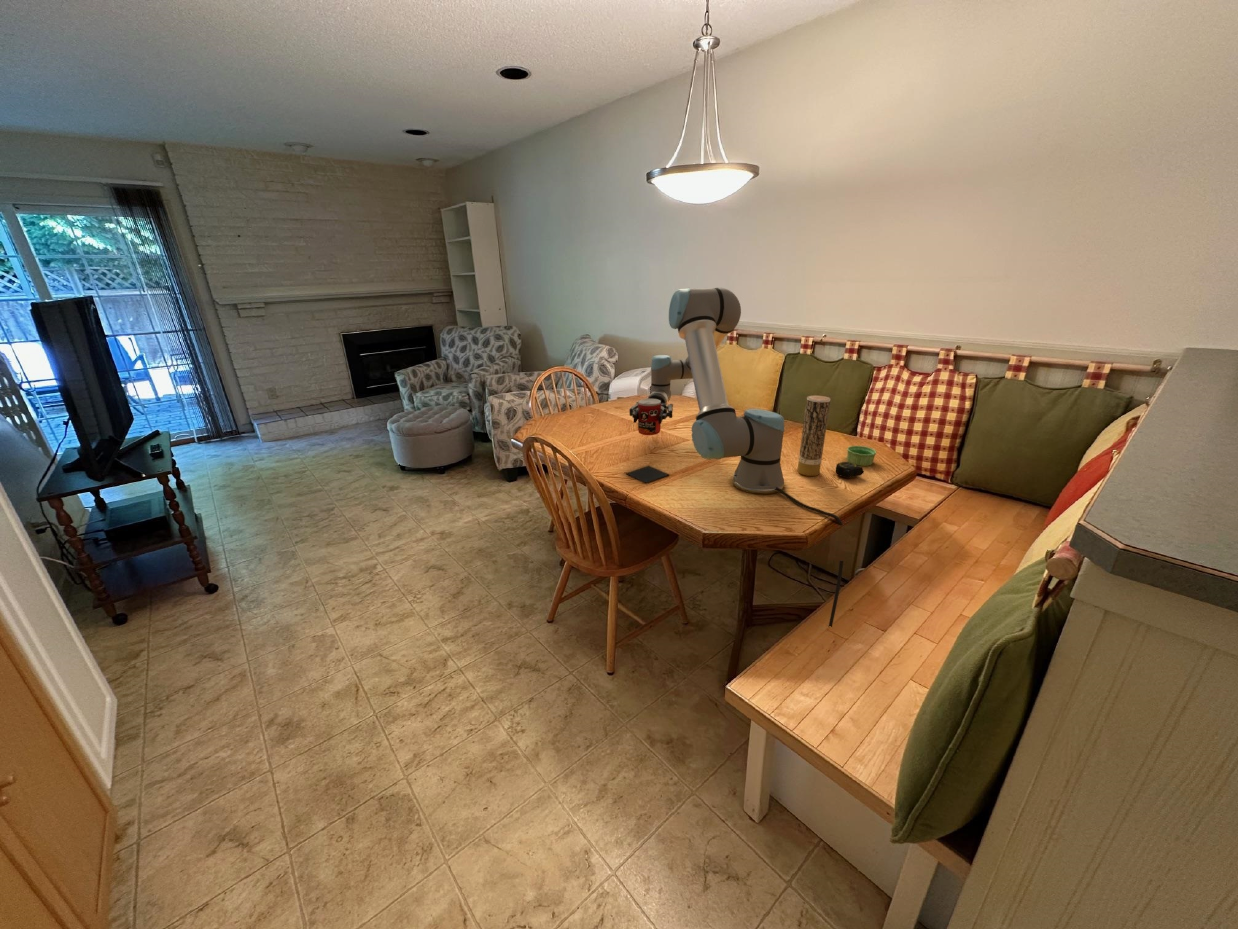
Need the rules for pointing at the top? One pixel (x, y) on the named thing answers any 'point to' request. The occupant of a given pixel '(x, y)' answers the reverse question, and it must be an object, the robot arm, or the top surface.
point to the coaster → (647, 474)
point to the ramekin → (860, 455)
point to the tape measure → (848, 470)
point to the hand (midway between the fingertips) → (647, 419)
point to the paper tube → (813, 435)
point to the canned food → (649, 416)
